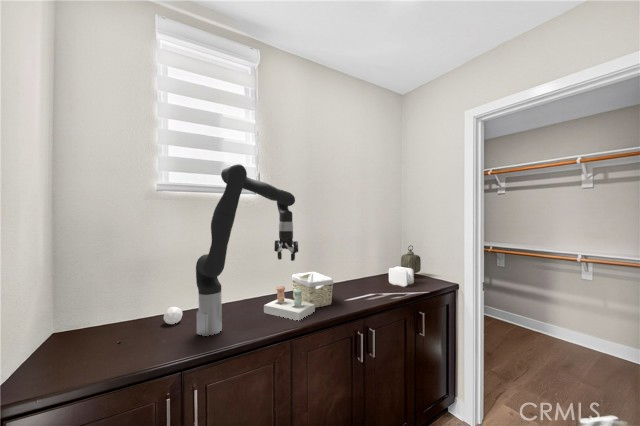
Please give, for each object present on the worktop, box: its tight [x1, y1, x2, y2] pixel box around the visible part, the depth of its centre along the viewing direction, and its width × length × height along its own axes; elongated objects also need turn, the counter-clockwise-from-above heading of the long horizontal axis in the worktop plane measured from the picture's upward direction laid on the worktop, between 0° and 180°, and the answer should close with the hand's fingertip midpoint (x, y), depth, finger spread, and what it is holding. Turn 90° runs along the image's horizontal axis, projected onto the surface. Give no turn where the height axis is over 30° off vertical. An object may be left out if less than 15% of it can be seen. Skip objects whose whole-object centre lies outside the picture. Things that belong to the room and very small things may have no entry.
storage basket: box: [291, 271, 334, 309], centre depth 154 cm, size 24×16×15 cm
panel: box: [263, 297, 316, 322], centre depth 138 cm, size 14×22×4 cm, turn 59°
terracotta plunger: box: [275, 285, 286, 302], centre depth 141 cm, size 5×5×7 cm
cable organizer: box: [388, 265, 415, 288], centre depth 189 cm, size 15×11×12 cm
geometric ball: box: [163, 306, 183, 325], centre depth 125 cm, size 8×8×8 cm
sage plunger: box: [292, 289, 302, 306], centre depth 135 cm, size 5×5×7 cm
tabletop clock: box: [400, 245, 422, 279], centre depth 209 cm, size 14×9×25 cm, turn 130°
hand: (286, 260), depth 145 cm, fingers open, 8 cm apart
